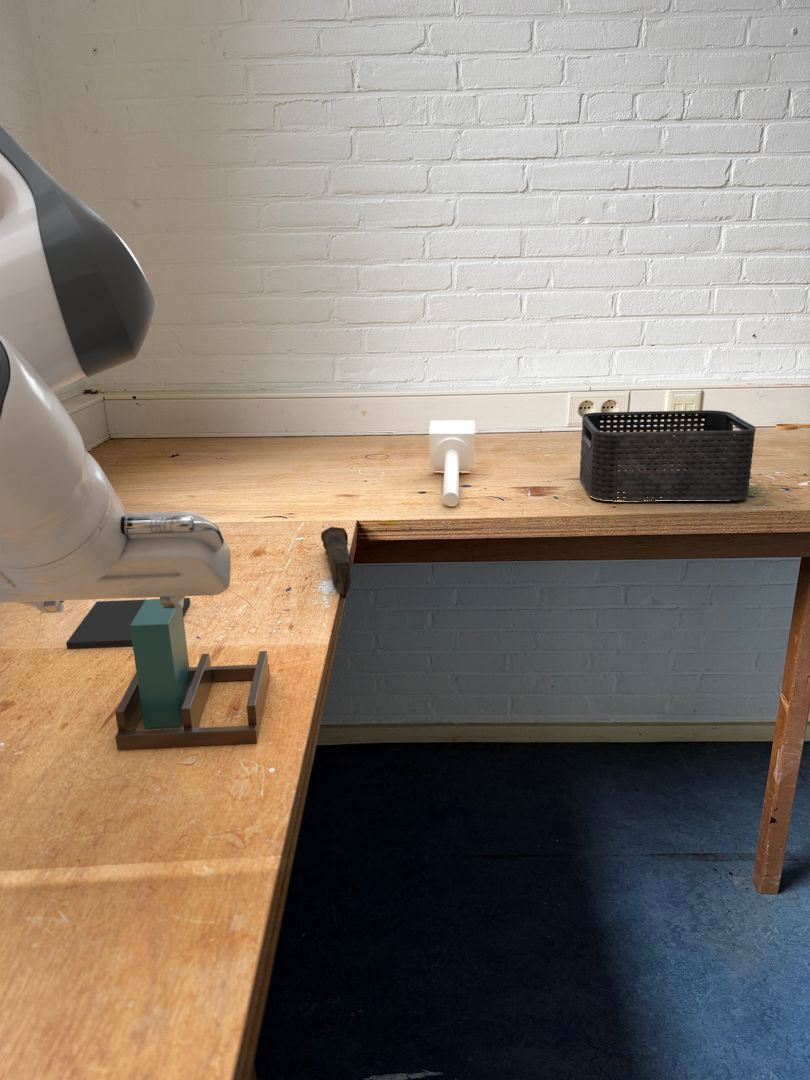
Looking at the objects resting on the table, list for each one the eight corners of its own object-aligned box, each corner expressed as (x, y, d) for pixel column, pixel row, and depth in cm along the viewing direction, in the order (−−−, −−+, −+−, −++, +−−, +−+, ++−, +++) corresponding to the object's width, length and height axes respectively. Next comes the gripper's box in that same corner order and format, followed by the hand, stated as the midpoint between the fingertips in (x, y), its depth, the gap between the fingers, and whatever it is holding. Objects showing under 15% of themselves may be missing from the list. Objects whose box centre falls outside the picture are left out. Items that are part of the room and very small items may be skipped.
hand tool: (322, 550, 123) (320, 522, 122) (348, 549, 124) (346, 520, 122) (323, 600, 105) (321, 567, 104) (354, 598, 106) (352, 566, 104)
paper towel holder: (474, 420, 169) (477, 477, 141) (473, 459, 173) (476, 522, 145) (430, 420, 170) (424, 477, 141) (430, 459, 174) (425, 521, 145)
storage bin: (591, 503, 144) (596, 430, 140) (576, 476, 163) (579, 410, 158) (753, 503, 143) (763, 429, 138) (719, 476, 161) (727, 409, 156)
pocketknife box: (144, 729, 77) (129, 625, 73) (158, 696, 83) (145, 599, 79) (181, 727, 77) (168, 623, 73) (192, 695, 83) (181, 597, 79)
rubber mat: (66, 648, 93) (65, 642, 93) (97, 606, 104) (96, 601, 104) (171, 644, 94) (170, 638, 93) (190, 603, 105) (189, 597, 105)
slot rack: (117, 750, 74) (112, 717, 72) (150, 681, 86) (146, 652, 84) (256, 743, 74) (254, 710, 73) (270, 675, 86) (267, 646, 85)
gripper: (217, 476, 53) (247, 561, 66) (-99, 485, 52) (-8, 569, 65) (212, 563, 51) (244, 634, 63) (-121, 574, 49) (-21, 644, 62)
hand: (115, 601), depth 64 cm, fingers open, 8 cm apart
